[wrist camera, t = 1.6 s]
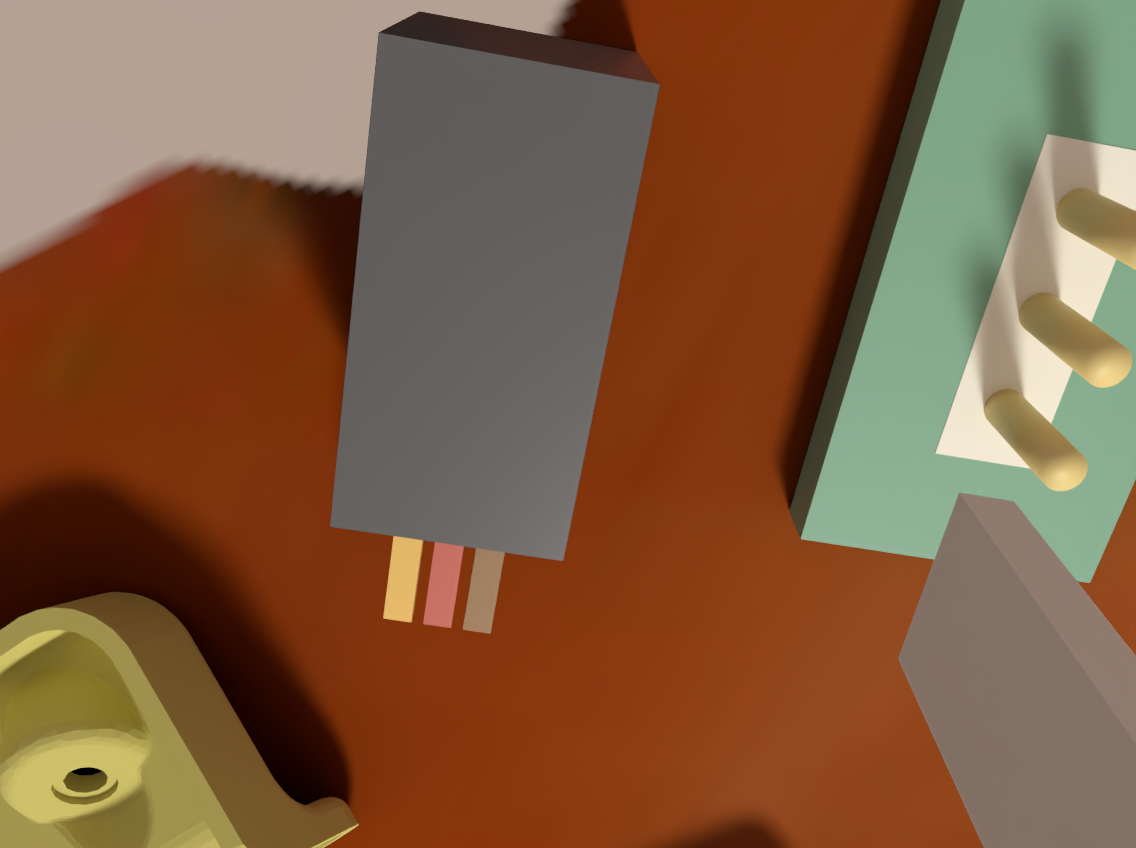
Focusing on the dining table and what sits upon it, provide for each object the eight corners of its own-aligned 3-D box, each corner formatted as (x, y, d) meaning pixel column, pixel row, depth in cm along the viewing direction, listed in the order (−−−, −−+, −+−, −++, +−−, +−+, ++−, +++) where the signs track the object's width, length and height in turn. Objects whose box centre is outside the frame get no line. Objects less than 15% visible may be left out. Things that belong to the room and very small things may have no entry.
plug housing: (537, 569, 30) (533, 708, 25) (359, 542, 30) (315, 678, 24) (637, 52, 25) (659, 84, 19) (419, 11, 24) (378, 32, 19)
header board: (789, 511, 30) (831, 615, 25) (951, -35, 24) (1044, -29, 19) (1065, 553, 30) (1156, 663, 26) (1287, 31, 25) (1453, 53, 20)
